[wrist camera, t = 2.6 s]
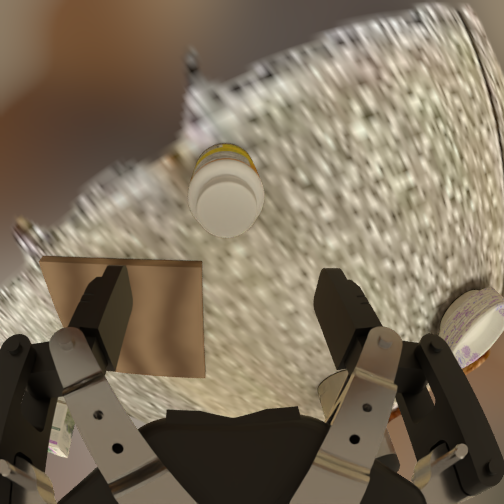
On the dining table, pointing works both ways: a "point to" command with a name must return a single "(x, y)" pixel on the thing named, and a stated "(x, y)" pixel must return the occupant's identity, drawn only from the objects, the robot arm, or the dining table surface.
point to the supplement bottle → (225, 191)
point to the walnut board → (143, 310)
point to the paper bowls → (473, 324)
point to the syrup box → (61, 430)
